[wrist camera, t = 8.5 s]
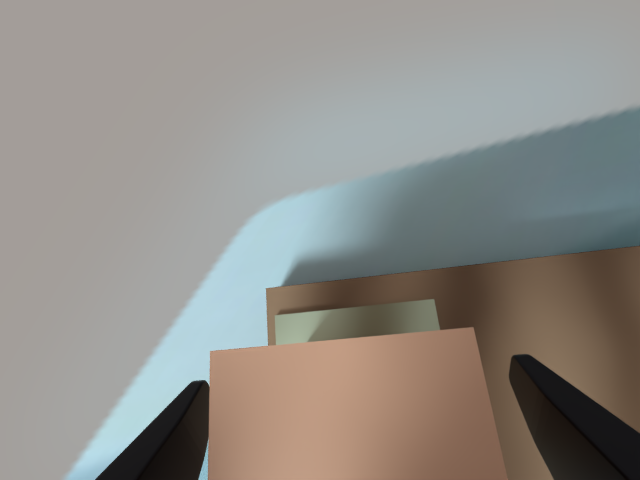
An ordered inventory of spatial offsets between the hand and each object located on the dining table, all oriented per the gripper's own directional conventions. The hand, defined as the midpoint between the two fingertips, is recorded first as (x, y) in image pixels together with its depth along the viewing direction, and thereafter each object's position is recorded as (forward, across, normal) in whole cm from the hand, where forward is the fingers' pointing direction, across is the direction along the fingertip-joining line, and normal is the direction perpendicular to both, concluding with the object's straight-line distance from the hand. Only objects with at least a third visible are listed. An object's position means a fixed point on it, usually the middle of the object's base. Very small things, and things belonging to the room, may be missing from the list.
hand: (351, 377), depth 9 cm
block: (+3, 0, +5) cm, 6 cm away
